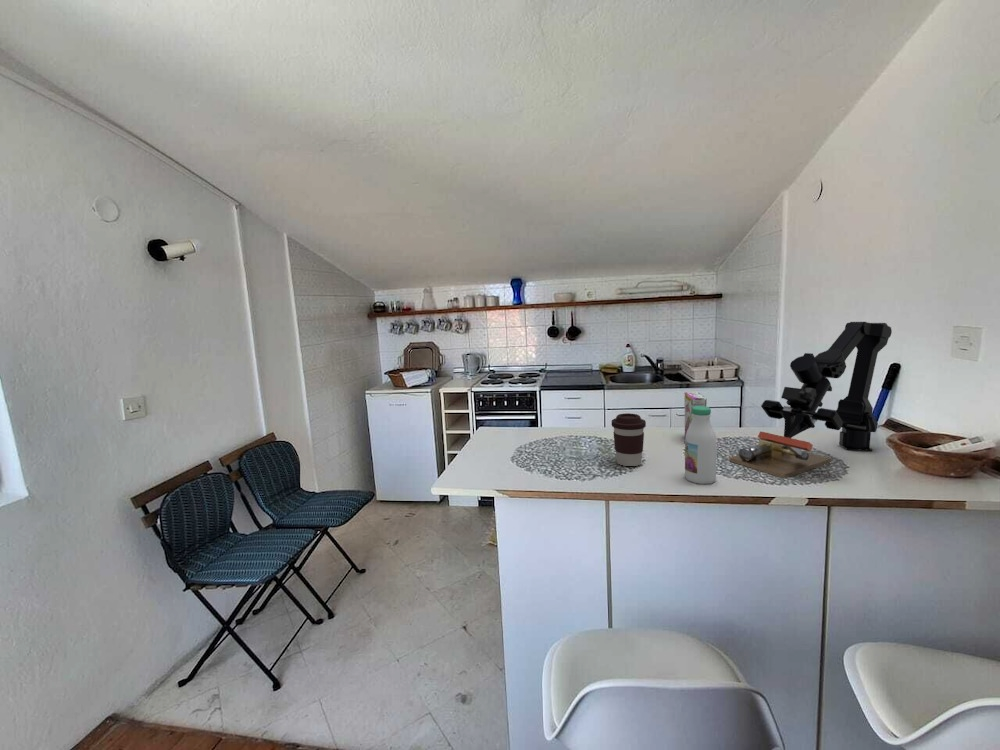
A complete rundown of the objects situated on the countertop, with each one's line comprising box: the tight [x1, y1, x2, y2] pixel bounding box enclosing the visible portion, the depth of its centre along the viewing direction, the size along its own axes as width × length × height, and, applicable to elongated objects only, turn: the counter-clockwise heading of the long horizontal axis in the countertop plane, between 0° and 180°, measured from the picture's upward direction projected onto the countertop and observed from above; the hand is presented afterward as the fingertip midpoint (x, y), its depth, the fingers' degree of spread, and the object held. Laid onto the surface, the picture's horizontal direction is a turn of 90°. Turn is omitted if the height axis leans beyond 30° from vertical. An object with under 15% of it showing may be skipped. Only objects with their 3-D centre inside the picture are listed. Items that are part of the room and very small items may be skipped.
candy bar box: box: [684, 391, 707, 438], centre depth 147 cm, size 11×5×16 cm, turn 168°
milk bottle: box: [684, 406, 718, 485], centre depth 114 cm, size 8×8×20 cm
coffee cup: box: [611, 412, 647, 467], centre depth 129 cm, size 10×10×15 cm
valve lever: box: [757, 431, 813, 460], centre depth 118 cm, size 2×13×13 cm
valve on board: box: [728, 439, 832, 479], centre depth 124 cm, size 22×16×5 cm
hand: (785, 438), depth 116 cm, fingers closed, pressing on valve lever
